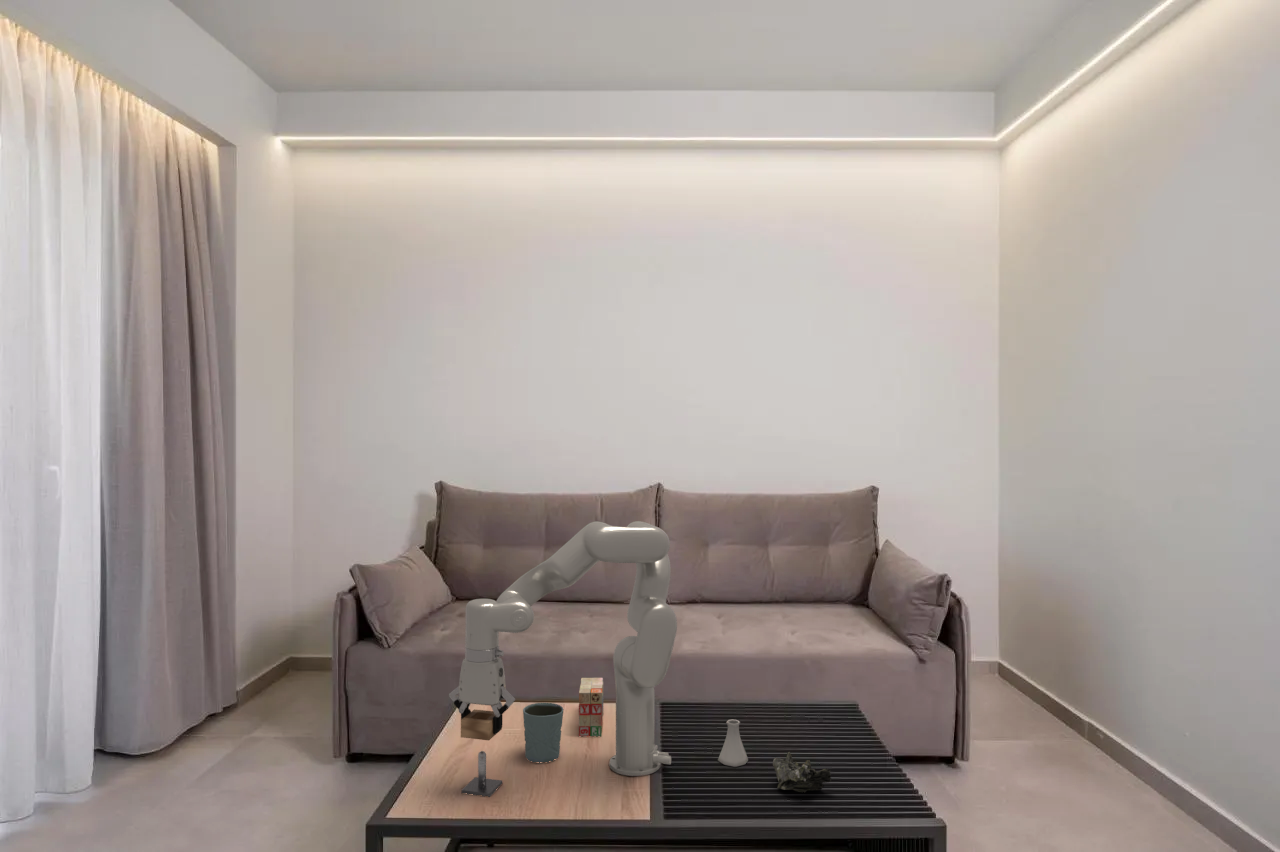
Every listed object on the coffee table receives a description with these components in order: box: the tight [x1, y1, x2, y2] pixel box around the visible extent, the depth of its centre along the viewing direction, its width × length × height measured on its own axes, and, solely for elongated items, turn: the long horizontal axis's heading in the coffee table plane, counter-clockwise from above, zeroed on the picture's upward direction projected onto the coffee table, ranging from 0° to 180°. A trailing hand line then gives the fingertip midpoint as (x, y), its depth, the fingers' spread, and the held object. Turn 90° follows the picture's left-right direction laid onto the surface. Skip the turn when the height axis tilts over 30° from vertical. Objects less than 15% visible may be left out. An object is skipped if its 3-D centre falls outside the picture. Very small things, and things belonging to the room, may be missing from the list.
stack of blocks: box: [578, 677, 604, 738], centre depth 236 cm, size 21×6×12 cm, turn 1°
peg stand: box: [461, 750, 503, 798], centre depth 194 cm, size 7×7×9 cm
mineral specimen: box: [772, 751, 832, 793], centre depth 196 cm, size 15×13×10 cm
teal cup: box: [522, 702, 565, 764], centre depth 213 cm, size 10×10×12 cm
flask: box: [717, 719, 749, 768], centre depth 210 cm, size 7×7×10 cm
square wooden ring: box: [460, 709, 497, 741], centre depth 194 cm, size 7×7×4 cm
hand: (481, 729), depth 194 cm, fingers closed on square wooden ring, 7 cm apart
